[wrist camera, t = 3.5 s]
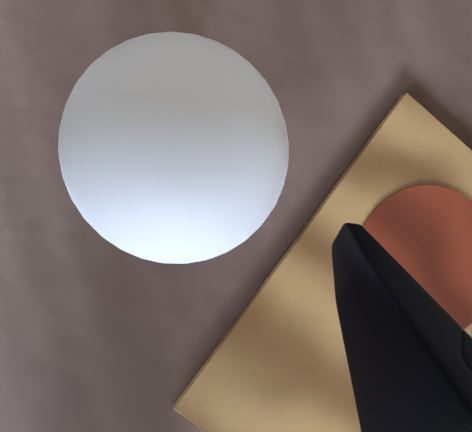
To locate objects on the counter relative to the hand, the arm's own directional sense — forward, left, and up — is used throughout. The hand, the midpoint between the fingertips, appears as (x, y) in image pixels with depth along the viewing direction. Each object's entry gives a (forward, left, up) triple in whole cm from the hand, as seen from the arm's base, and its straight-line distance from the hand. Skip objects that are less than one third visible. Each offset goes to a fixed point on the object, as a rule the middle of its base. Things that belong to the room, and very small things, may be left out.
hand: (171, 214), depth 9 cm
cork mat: (+2, -13, -9) cm, 16 cm away
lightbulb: (+1, +1, -9) cm, 9 cm away
